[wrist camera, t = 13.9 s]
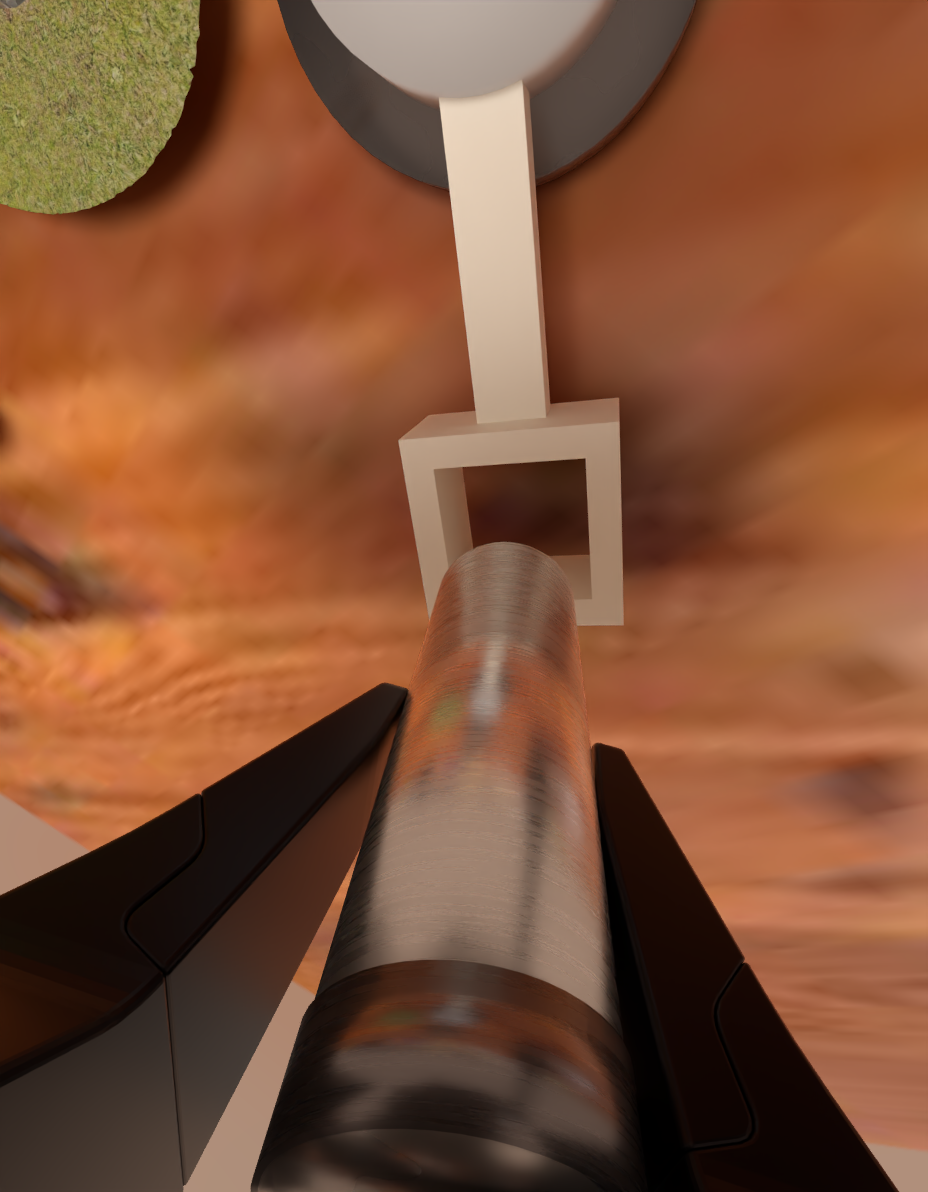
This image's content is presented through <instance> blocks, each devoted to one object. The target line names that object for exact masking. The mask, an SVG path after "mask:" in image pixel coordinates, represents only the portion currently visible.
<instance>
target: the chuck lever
mask: <svg viewBox="0 0 928 1192" xmlns="http://www.w3.org/2000/svg"><path fill="white" fill-rule="evenodd" d="M311 1H312V3H313V5H314V6H315V8H316V10H317V11H318V13H319V15H320V16H321V17H322V19H323V20H324V21H325V23H326V24H327V25H328V27H329V28H330V29H331V31H332V32H333V33H334V35H335V36H336V37H337V38H338V39H339V40H340V41H341V42H342V43H343V44H344V45H345V46H346V47H347V48H348V49H349V50H350V52H351V53H353V54H354V55H355V56H356V57H358V58H359V59H360V60H361V61H363V62H364V63H365V64H366V65H368V66H369V67H370V68H372V69H373V70H374V71H375V72H377V73H378V74H379V75H381V76H382V77H383V78H384V79H386V80H387V81H388V82H390V83H391V84H392V85H394V86H395V87H396V88H397V89H399V90H400V91H401V92H403V93H404V94H406V95H407V96H409V97H411V98H413V99H414V100H416V101H418V102H419V103H422V104H424V105H427V106H429V107H432V108H434V109H437V110H440V113H441V121H442V130H443V138H444V147H445V155H446V164H447V172H448V181H449V189H450V198H451V206H452V215H453V223H454V232H455V240H456V249H457V257H458V266H459V274H460V283H461V291H462V300H463V308H464V317H465V325H466V334H467V342H468V351H469V359H470V368H471V376H472V385H473V393H474V402H475V410H476V411H468V412H457V413H446V414H435V415H428V416H427V417H426V418H425V419H423V420H422V421H421V422H420V423H418V424H417V425H416V426H415V427H414V428H412V429H411V430H410V431H409V432H408V433H406V434H405V435H404V436H403V437H401V438H400V439H399V440H398V442H399V448H400V454H401V459H402V465H403V471H404V477H405V482H406V488H407V494H408V500H409V506H410V511H411V517H412V523H413V529H414V535H415V540H416V546H417V552H418V558H419V563H420V569H421V575H422V581H423V587H424V592H425V598H426V604H427V610H428V616H429V621H430V617H431V614H432V611H433V607H434V604H435V601H436V597H437V594H438V591H439V588H440V584H441V581H442V579H443V577H444V575H445V573H446V572H447V570H448V569H449V567H450V566H451V565H452V564H453V563H454V562H455V561H456V560H457V559H458V558H459V557H460V556H462V555H463V554H465V553H466V552H468V551H470V550H472V549H473V544H472V537H471V529H470V521H469V514H468V506H467V499H466V491H465V483H464V476H463V468H462V467H470V466H484V465H498V464H512V463H526V462H541V461H555V460H569V459H583V458H586V479H587V501H588V523H589V545H590V555H564V556H549V557H550V558H552V559H553V560H554V561H555V562H556V563H557V564H558V565H559V566H560V567H561V568H562V570H563V571H564V573H565V574H566V576H567V578H568V580H569V582H570V584H571V587H572V591H573V596H574V604H575V612H576V621H577V626H612V625H624V613H623V556H622V510H621V464H620V418H619V398H608V399H598V400H587V401H576V402H565V403H554V404H550V393H549V378H548V363H547V349H546V334H545V319H544V304H543V290H542V275H541V260H540V245H539V230H538V216H537V201H536V186H535V171H534V157H533V142H532V127H531V112H530V99H531V98H533V97H535V96H536V95H538V94H539V93H541V92H543V91H544V90H546V89H547V88H549V87H550V86H552V85H553V84H554V83H555V82H556V81H558V80H559V79H560V78H561V77H562V76H563V75H565V74H566V73H567V72H568V71H569V70H570V69H571V68H572V67H573V66H574V65H575V64H576V63H577V61H578V60H579V59H580V58H581V57H582V56H583V55H584V54H585V53H586V51H587V50H588V49H589V47H590V46H591V44H592V43H593V42H594V40H595V39H596V38H597V36H598V35H599V34H600V32H601V30H602V29H603V27H604V25H605V24H606V22H607V20H608V18H609V17H610V15H611V13H612V12H613V10H614V8H615V6H616V4H617V1H618V0H311Z"/></svg>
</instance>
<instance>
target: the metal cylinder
mask: <svg viewBox="0 0 928 1192" xmlns="http://www.w3.org/2000/svg"><path fill="white" fill-rule="evenodd" d="M251 1192H648V1187H647V1179H646V1171H645V1162H644V1154H643V1146H642V1137H641V1129H640V1121H639V1112H638V1104H637V1096H636V1088H635V1079H634V1071H633V1065H632V1061H631V1057H630V1053H629V1051H628V1049H627V1047H626V1045H625V1043H624V1041H623V1032H622V1023H621V1014H620V1005H619V996H618V987H617V978H616V969H615V961H614V952H613V943H612V934H611V925H610V916H609V907H608V898H607V889H606V880H605V871H604V862H603V853H602V845H601V836H600V827H599V818H598V809H597V800H596V791H595V782H594V773H593V764H592V755H591V746H590V737H589V729H588V720H587V711H586V702H585V693H584V684H583V675H582V666H581V657H580V648H579V639H578V630H577V621H576V612H575V604H574V596H573V591H572V587H571V584H570V582H569V580H568V578H567V576H566V574H565V573H564V571H563V570H562V568H561V567H560V566H559V565H558V564H557V563H556V562H555V561H554V560H553V559H552V558H550V557H549V556H548V555H546V554H545V553H543V552H541V551H540V550H538V549H535V548H533V547H531V546H527V545H524V544H520V543H514V542H494V543H489V544H484V545H481V546H478V547H476V548H474V549H472V550H470V551H468V552H466V553H465V554H463V555H462V556H460V557H459V558H458V559H457V560H456V561H455V562H454V563H453V564H452V565H451V566H450V567H449V569H448V570H447V572H446V573H445V575H444V577H443V579H442V581H441V584H440V588H439V591H438V594H437V597H436V601H435V604H434V607H433V611H432V614H431V617H430V621H429V624H428V627H427V630H426V634H425V637H424V640H423V644H422V647H421V650H420V654H419V657H418V660H417V663H416V667H415V670H414V673H413V677H412V680H411V683H410V687H409V690H408V693H407V696H406V700H405V703H404V706H403V710H402V713H401V716H400V720H399V723H398V726H397V730H396V733H395V736H394V739H393V743H392V746H391V749H390V753H389V756H388V759H387V763H386V766H385V769H384V772H383V776H382V779H381V782H380V786H379V789H378V792H377V796H376V799H375V802H374V805H373V809H372V812H371V815H370V819H369V822H368V825H367V829H366V832H365V835H364V838H363V842H362V845H361V848H360V852H359V855H358V858H357V862H356V865H355V868H354V871H353V875H352V878H351V881H350V885H349V888H348V891H347V895H346V898H345V901H344V904H343V908H342V911H341V914H340V918H339V921H338V924H337V928H336V931H335V934H334V937H333V941H332V944H331V947H330V951H329V954H328V957H327V961H326V964H325V967H324V970H323V974H322V977H321V980H320V984H319V987H318V990H317V994H316V997H315V1000H314V1001H313V1002H312V1003H311V1004H310V1006H309V1007H308V1009H307V1010H306V1012H305V1014H304V1016H303V1018H302V1021H301V1025H300V1028H299V1031H298V1034H297V1038H296V1041H295V1044H294V1047H293V1050H292V1053H291V1057H290V1060H289V1063H288V1067H287V1070H286V1073H285V1076H284V1079H283V1082H282V1085H281V1089H280V1092H279V1095H278V1098H277V1102H276V1105H275V1108H274V1111H273V1114H272V1118H271V1121H270V1124H269V1127H268V1131H267V1134H266V1137H265V1140H264V1143H263V1146H262V1150H261V1153H260V1156H259V1159H258V1163H257V1166H256V1169H255V1173H254V1175H253V1179H252V1183H251Z"/></svg>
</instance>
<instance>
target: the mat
mask: <svg viewBox="0 0 928 1192" xmlns="http://www.w3.org/2000/svg"><path fill="white" fill-rule="evenodd" d="M199 8H200V0H0V203H1V204H4V205H8V206H9V207H14V208H17V209H21V210H26V211H30V212H36V213H46V214H52V215H53V214H56V213H59V214H62V213H69V212H77V211H79V210H82V209H89V208H91V207H93V206H97V205H99V204H100V203H104V202H106V201H107V200H109V199H112V198H114V197H115V195H116V194H117V193H120V192H123V191H124V190H125V189H126V188H127V187H128V186H132V185H133V184H134V183H135V181H136V180H138V179H139V178H140V177H142V176H143V175H144V174H145V173H146V172H147V170H148V168H149V167H150V166H151V165H152V164H153V163H154V160H155V157H156V156H157V155H158V154H159V152H160V151H161V150H162V149H163V148H164V146H165V144H166V142H167V140H168V139H169V138H170V136H171V130H172V129H173V128H175V127H176V125H177V123H178V121H179V119H180V117H181V114H182V110H183V106H184V100H185V98H186V95H187V93H188V91H189V89H190V86H191V81H192V79H193V77H194V76H193V75H192V73H191V71H190V70H189V69H190V68H192V67H194V66H195V61H196V52H197V51H196V42H197V40H198V37H199V35H200V32H199Z"/></svg>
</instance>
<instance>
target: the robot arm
mask: <svg viewBox="0 0 928 1192" xmlns="http://www.w3.org/2000/svg"><path fill="white" fill-rule="evenodd" d="M407 693H408V689H406V688H403V687H400V686H396V685H393V684H389V683H381V684H379V685H378V686H376V687H374V688H373V689H371V690H369V691H368V692H366V693H364V694H363V695H361V696H359V697H358V698H356V699H354V700H353V701H351V702H349V703H348V704H346V705H344V706H343V707H341V708H339V709H338V710H336V711H334V712H333V713H331V714H329V715H328V716H326V717H324V718H323V719H321V720H319V721H318V722H316V723H314V724H313V725H311V726H309V727H308V728H306V729H304V730H303V731H301V732H299V733H298V734H296V735H294V736H293V737H291V738H289V739H287V740H286V741H284V742H282V743H281V744H279V745H277V746H276V747H274V748H272V749H271V750H269V751H267V752H266V753H264V754H262V755H261V756H259V757H257V758H256V759H254V760H252V761H251V762H249V763H247V764H246V765H244V766H242V767H241V768H239V769H237V770H236V771H234V772H232V773H231V774H229V775H227V776H226V777H224V778H222V779H221V780H219V781H217V782H216V783H214V784H212V785H211V786H209V787H207V788H206V789H204V790H203V791H202V793H201V795H200V794H195V795H194V796H192V797H190V798H189V799H187V800H185V801H183V802H182V803H180V804H178V805H177V806H175V807H173V808H172V809H170V810H168V811H166V812H165V813H163V814H161V815H159V816H158V817H156V818H154V819H152V820H150V821H149V822H147V823H145V824H143V825H142V826H140V827H138V828H136V829H135V830H133V831H131V832H129V833H127V834H125V835H123V836H121V837H119V838H117V839H115V840H113V841H111V842H109V843H107V844H105V845H103V846H101V847H99V848H97V849H95V850H93V851H91V852H89V853H87V854H85V855H83V856H81V857H79V858H77V859H75V860H73V861H71V862H69V863H66V864H65V865H62V866H60V867H58V868H57V869H54V870H52V871H50V872H48V873H46V874H44V875H42V876H39V877H37V878H35V879H33V880H31V881H29V882H27V883H25V884H23V885H21V886H19V887H17V888H15V889H12V890H10V891H8V892H6V893H4V894H2V895H0V1192H183V1186H184V1185H186V1183H187V1182H188V1180H189V1178H190V1177H191V1174H192V1173H193V1171H194V1169H195V1167H196V1165H197V1163H198V1161H199V1159H200V1157H201V1155H202V1153H203V1151H204V1149H205V1148H206V1145H207V1144H208V1142H209V1140H210V1138H211V1136H212V1134H213V1132H214V1130H215V1128H216V1126H217V1124H218V1122H219V1120H220V1118H221V1116H222V1115H223V1113H224V1111H225V1109H226V1107H227V1105H228V1103H229V1101H230V1099H231V1097H232V1095H233V1093H234V1091H235V1089H236V1087H237V1085H238V1084H239V1082H240V1080H241V1078H242V1076H243V1073H244V1072H245V1070H246V1068H247V1066H248V1064H249V1062H250V1060H251V1058H252V1056H253V1054H254V1053H255V1051H256V1049H257V1047H258V1045H259V1043H260V1041H261V1039H262V1037H263V1035H264V1033H265V1031H266V1029H267V1027H268V1025H269V1023H270V1022H271V1020H272V1017H273V1016H274V1014H275V1012H276V1010H277V1008H278V1006H279V1004H280V1002H281V1000H282V998H283V996H284V994H285V992H286V990H287V989H288V987H289V985H290V983H291V981H292V979H293V977H294V975H295V973H296V971H297V969H298V967H299V965H300V963H301V961H302V959H303V958H304V956H305V954H306V952H307V950H308V948H309V946H310V944H311V942H312V940H313V938H314V936H315V934H316V932H317V930H318V928H319V926H320V925H321V923H322V921H323V919H324V917H325V915H326V913H327V911H328V909H329V907H330V905H331V903H332V901H333V899H334V897H335V895H336V894H337V892H338V890H339V888H340V886H341V884H342V882H343V880H344V878H345V876H346V874H347V872H348V870H349V868H350V866H351V864H352V862H353V861H354V859H355V857H356V855H357V853H358V851H359V849H360V847H361V845H362V842H363V838H364V835H365V832H366V829H367V825H368V822H369V819H370V815H371V812H372V809H373V805H374V802H375V799H376V796H377V792H378V789H379V786H380V782H381V779H382V776H383V772H384V769H385V766H386V763H387V759H388V756H389V753H390V749H391V746H392V743H393V739H394V736H395V733H396V730H397V726H398V723H399V720H400V716H401V713H402V710H403V706H404V703H405V700H406V696H407ZM591 755H592V764H593V773H594V782H595V791H596V800H597V809H598V818H599V827H600V836H601V845H602V853H603V862H604V871H605V880H606V889H607V898H608V907H609V916H610V925H611V934H612V943H613V952H614V961H615V969H616V978H617V987H618V996H619V1005H620V1014H621V1023H622V1032H623V1041H624V1043H625V1045H626V1047H627V1049H628V1051H629V1053H630V1057H631V1061H632V1065H633V1071H634V1079H635V1088H636V1096H637V1104H638V1112H639V1121H640V1129H641V1137H642V1146H643V1154H644V1162H645V1171H646V1179H647V1187H648V1192H899V1191H898V1190H897V1188H896V1187H895V1185H894V1184H893V1182H892V1181H891V1179H890V1178H889V1177H888V1175H887V1174H886V1172H885V1171H884V1169H883V1168H882V1166H881V1165H880V1164H879V1162H878V1161H877V1159H876V1158H875V1157H874V1155H873V1154H872V1152H871V1151H870V1149H869V1148H868V1146H867V1145H866V1144H865V1142H864V1141H863V1139H862V1138H861V1136H860V1135H859V1133H858V1132H857V1131H856V1129H855V1128H854V1126H853V1125H852V1123H851V1122H850V1121H849V1119H848V1118H847V1116H846V1115H845V1113H844V1112H843V1111H842V1109H841V1108H840V1106H839V1105H838V1103H837V1102H836V1100H835V1099H834V1098H833V1096H832V1095H831V1093H830V1092H829V1090H828V1089H827V1087H826V1086H825V1084H824V1083H823V1081H822V1080H821V1078H820V1077H819V1075H818V1074H817V1072H816V1071H815V1069H814V1068H813V1067H812V1065H811V1064H810V1062H809V1061H808V1059H807V1058H806V1056H805V1055H804V1053H803V1052H802V1050H801V1049H800V1047H799V1046H798V1044H797V1043H796V1041H795V1040H794V1038H793V1036H792V1035H791V1033H790V1032H789V1030H788V1028H787V1027H786V1025H785V1023H784V1022H783V1020H782V1019H781V1017H780V1015H779V1014H778V1012H777V1010H776V1009H775V1007H774V1006H773V1004H772V1002H771V1001H770V999H769V997H768V996H767V994H766V993H765V991H764V989H763V987H762V986H761V984H760V982H759V981H758V979H757V977H756V975H755V974H754V972H753V970H752V969H751V967H750V965H749V964H748V963H743V962H744V960H745V958H744V955H743V954H742V952H741V950H740V949H739V947H738V945H737V943H736V942H735V940H734V938H733V937H732V935H731V933H730V932H729V930H728V928H727V926H726V925H725V923H724V921H723V920H722V918H721V916H720V914H719V913H718V911H717V909H716V908H715V906H714V904H713V902H712V901H711V899H710V897H709V896H708V894H707V892H706V891H705V889H704V887H703V885H702V884H701V882H700V880H699V879H698V877H697V875H696V873H695V872H694V870H693V868H692V867H691V865H690V863H689V861H688V860H687V858H686V856H685V855H684V853H683V851H682V850H681V848H680V846H679V844H678V843H677V841H676V839H675V838H674V836H673V834H672V832H671V831H670V829H669V827H668V826H667V824H666V822H665V820H664V819H663V817H662V815H661V814H660V812H659V810H658V809H657V807H656V805H655V803H654V802H653V800H652V798H651V797H650V795H649V793H648V791H647V790H646V788H645V786H644V785H643V783H642V781H641V779H640V778H639V776H638V774H637V773H636V771H635V769H634V767H633V766H632V764H631V762H630V761H629V759H628V757H627V756H626V754H625V752H624V751H623V750H621V749H619V748H616V747H612V746H609V745H605V744H602V743H595V744H594V745H593V746H592V748H591ZM742 963H743V964H742Z"/></svg>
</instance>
